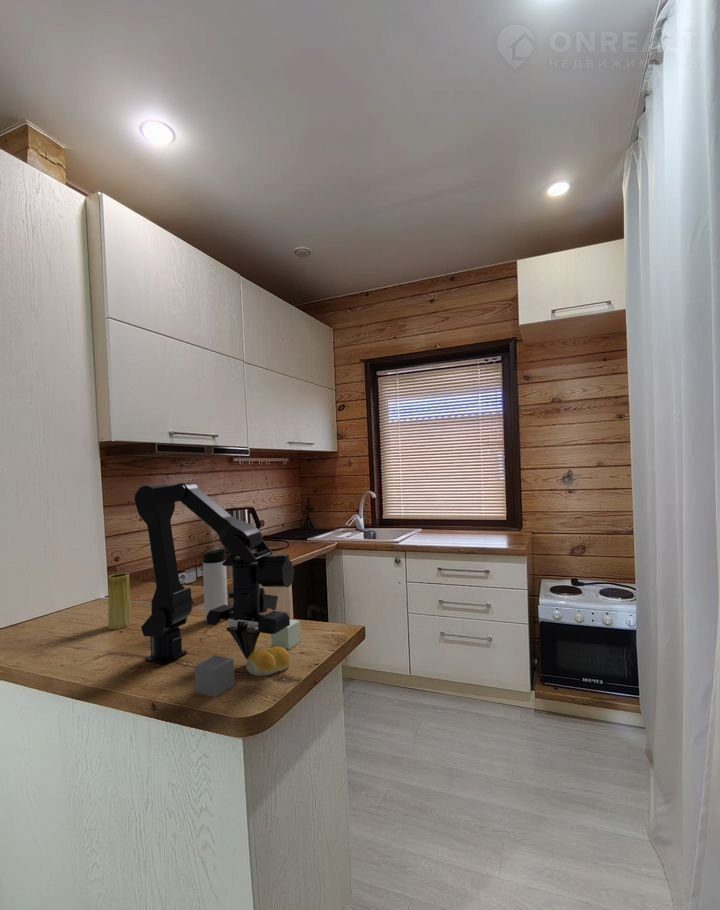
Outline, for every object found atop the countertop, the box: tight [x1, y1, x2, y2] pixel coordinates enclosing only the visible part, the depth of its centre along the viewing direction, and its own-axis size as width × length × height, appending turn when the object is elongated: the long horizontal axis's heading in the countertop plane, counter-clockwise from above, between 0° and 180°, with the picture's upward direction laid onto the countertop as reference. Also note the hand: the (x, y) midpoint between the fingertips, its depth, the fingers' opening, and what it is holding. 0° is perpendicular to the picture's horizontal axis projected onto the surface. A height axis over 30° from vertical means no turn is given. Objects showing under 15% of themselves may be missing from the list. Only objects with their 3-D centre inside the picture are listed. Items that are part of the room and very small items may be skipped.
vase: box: [107, 572, 133, 630], centre depth 125 cm, size 6×6×14 cm
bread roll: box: [245, 646, 291, 677], centre depth 93 cm, size 8×9×4 cm
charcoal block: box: [194, 655, 235, 698], centre depth 84 cm, size 5×5×5 cm
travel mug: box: [202, 548, 229, 623], centre depth 126 cm, size 6×7×20 cm
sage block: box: [270, 619, 302, 650], centre depth 105 cm, size 5×5×5 cm
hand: (248, 658), depth 95 cm, fingers closed
